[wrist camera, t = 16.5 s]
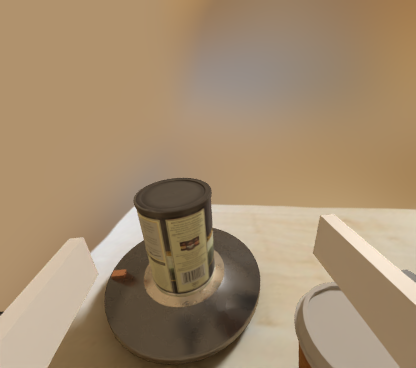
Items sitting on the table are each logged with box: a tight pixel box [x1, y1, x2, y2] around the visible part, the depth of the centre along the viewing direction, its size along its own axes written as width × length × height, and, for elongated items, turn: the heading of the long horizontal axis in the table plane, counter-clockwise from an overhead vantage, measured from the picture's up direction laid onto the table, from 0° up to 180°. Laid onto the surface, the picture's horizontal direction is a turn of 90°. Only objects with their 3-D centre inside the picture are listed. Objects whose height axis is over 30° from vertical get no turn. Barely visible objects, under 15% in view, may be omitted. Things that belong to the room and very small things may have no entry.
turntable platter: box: [105, 228, 260, 365], centre depth 33 cm, size 24×24×2 cm
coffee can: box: [134, 178, 215, 297], centre depth 29 cm, size 10×10×14 cm
